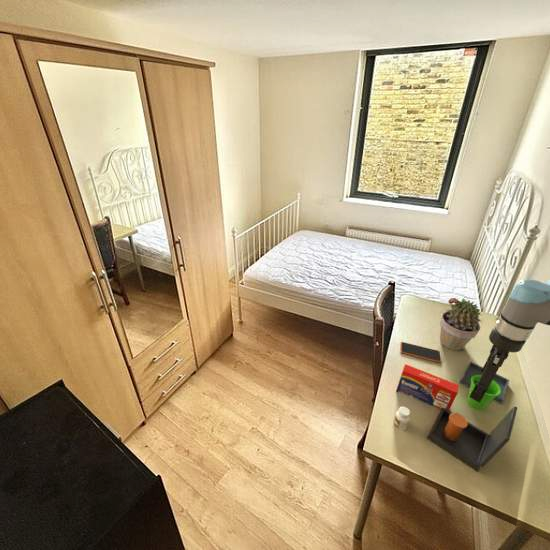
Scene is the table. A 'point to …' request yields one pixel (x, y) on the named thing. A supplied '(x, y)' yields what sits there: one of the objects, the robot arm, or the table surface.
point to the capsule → (455, 426)
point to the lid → (499, 436)
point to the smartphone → (420, 352)
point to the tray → (476, 370)
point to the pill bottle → (402, 418)
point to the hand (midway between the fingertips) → (480, 385)
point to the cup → (488, 396)
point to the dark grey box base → (460, 441)
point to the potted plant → (459, 324)
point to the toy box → (427, 387)
